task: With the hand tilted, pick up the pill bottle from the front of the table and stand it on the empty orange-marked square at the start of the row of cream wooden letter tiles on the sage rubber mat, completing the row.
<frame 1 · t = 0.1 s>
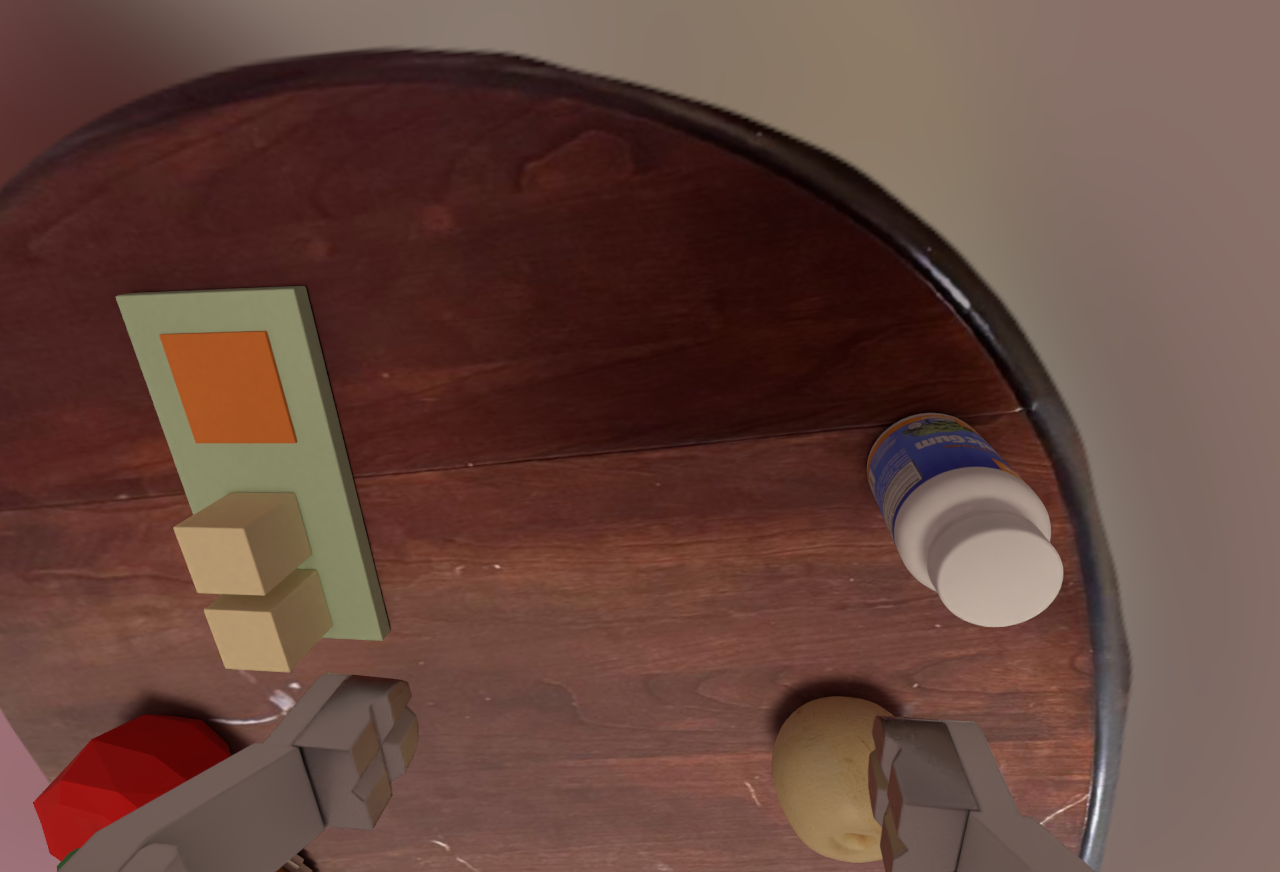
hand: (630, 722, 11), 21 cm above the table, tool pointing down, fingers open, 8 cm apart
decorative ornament: (276, 862, 49), on the table
pill bottle: (921, 461, 30), on the table
apple: (836, 724, 37), on the table
word mat: (272, 476, 36), on the table
apple 2: (195, 746, 46), on the table
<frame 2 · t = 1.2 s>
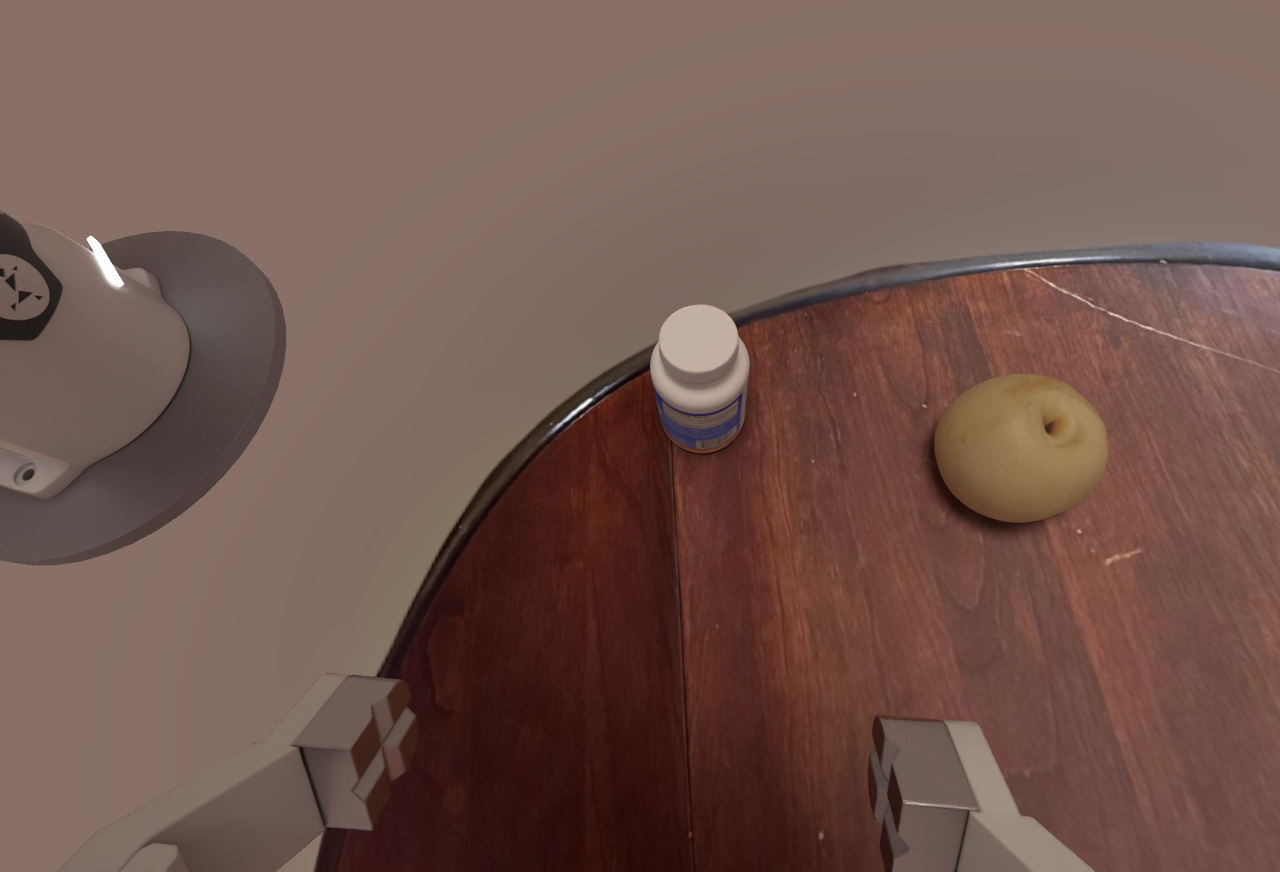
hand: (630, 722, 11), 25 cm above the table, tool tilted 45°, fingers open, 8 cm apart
pill bottle: (702, 417, 40), on the table
apple: (991, 470, 37), on the table
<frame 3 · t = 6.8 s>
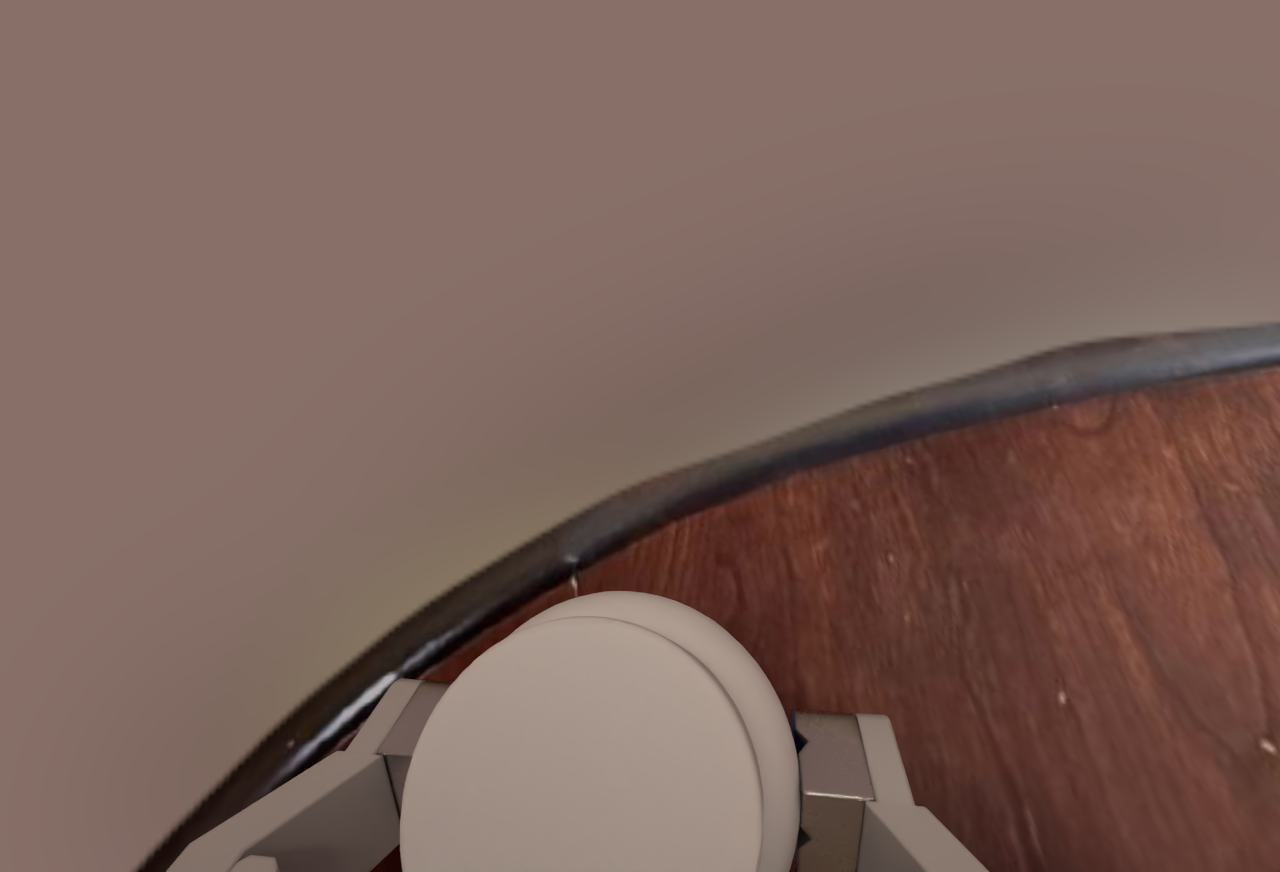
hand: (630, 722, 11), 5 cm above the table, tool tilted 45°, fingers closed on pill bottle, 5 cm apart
pill bottle: (661, 745, 16), on the table, touching gripper
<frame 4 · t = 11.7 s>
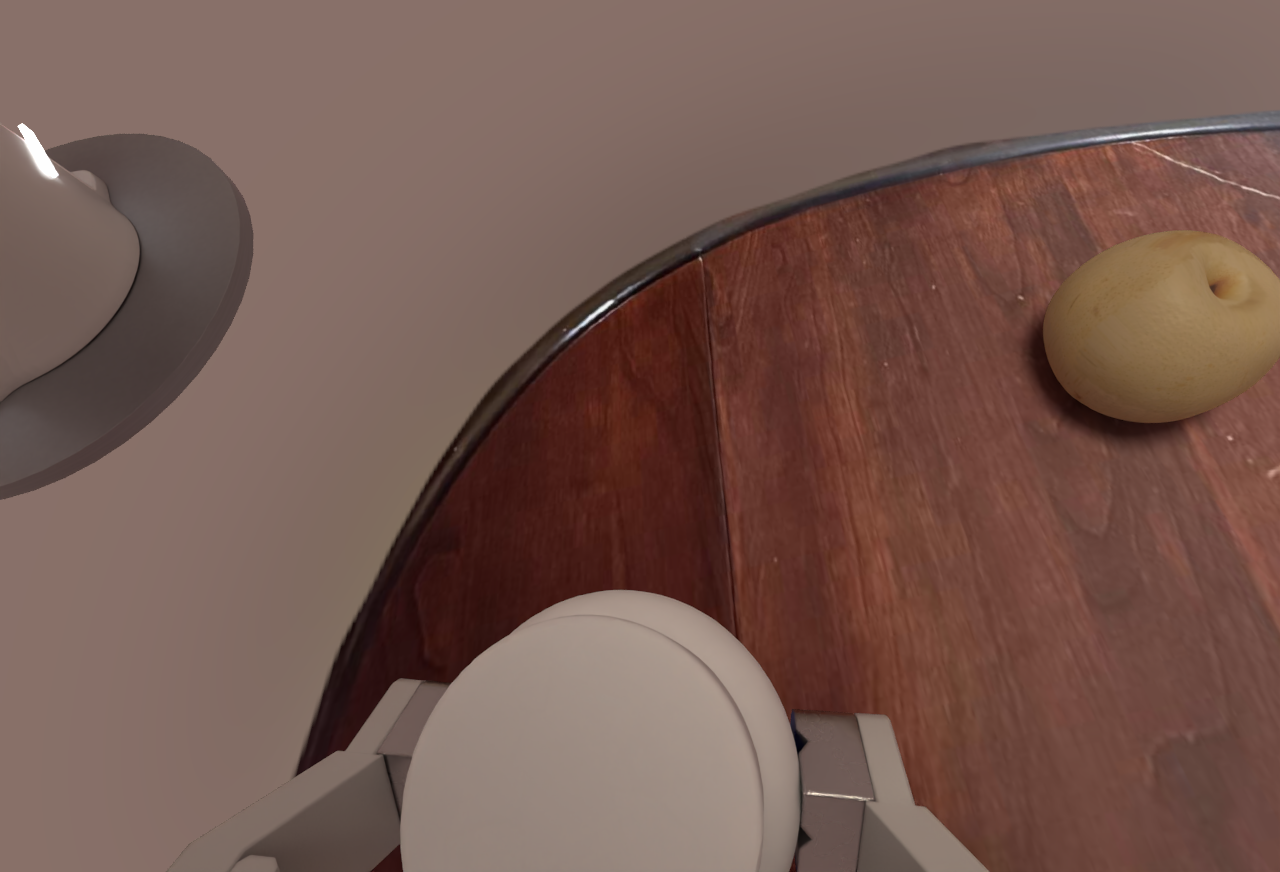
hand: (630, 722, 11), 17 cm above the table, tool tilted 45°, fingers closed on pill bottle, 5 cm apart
pill bottle: (661, 744, 16), point 11 cm above the table, touching gripper
apple: (1110, 369, 30), on the table
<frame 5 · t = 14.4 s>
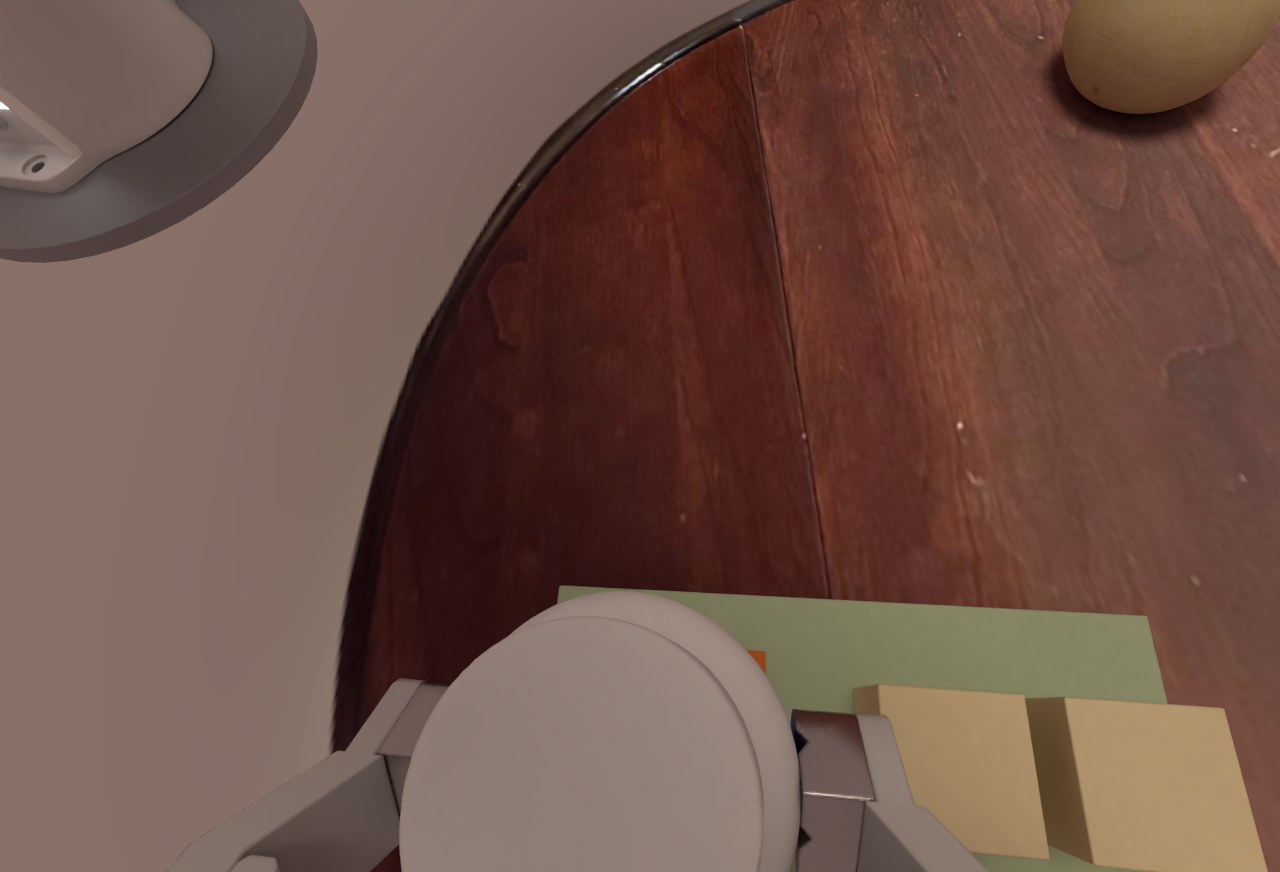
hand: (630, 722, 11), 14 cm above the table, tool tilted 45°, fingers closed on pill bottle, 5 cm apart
pill bottle: (661, 745, 16), point 8 cm above the table, touching gripper
apple: (1124, 87, 32), on the table
word mat: (836, 747, 22), on the table
when the fingers open (7 cm above the table, at t = 16.8 s): pill bottle stays where it is, resting on word mat.
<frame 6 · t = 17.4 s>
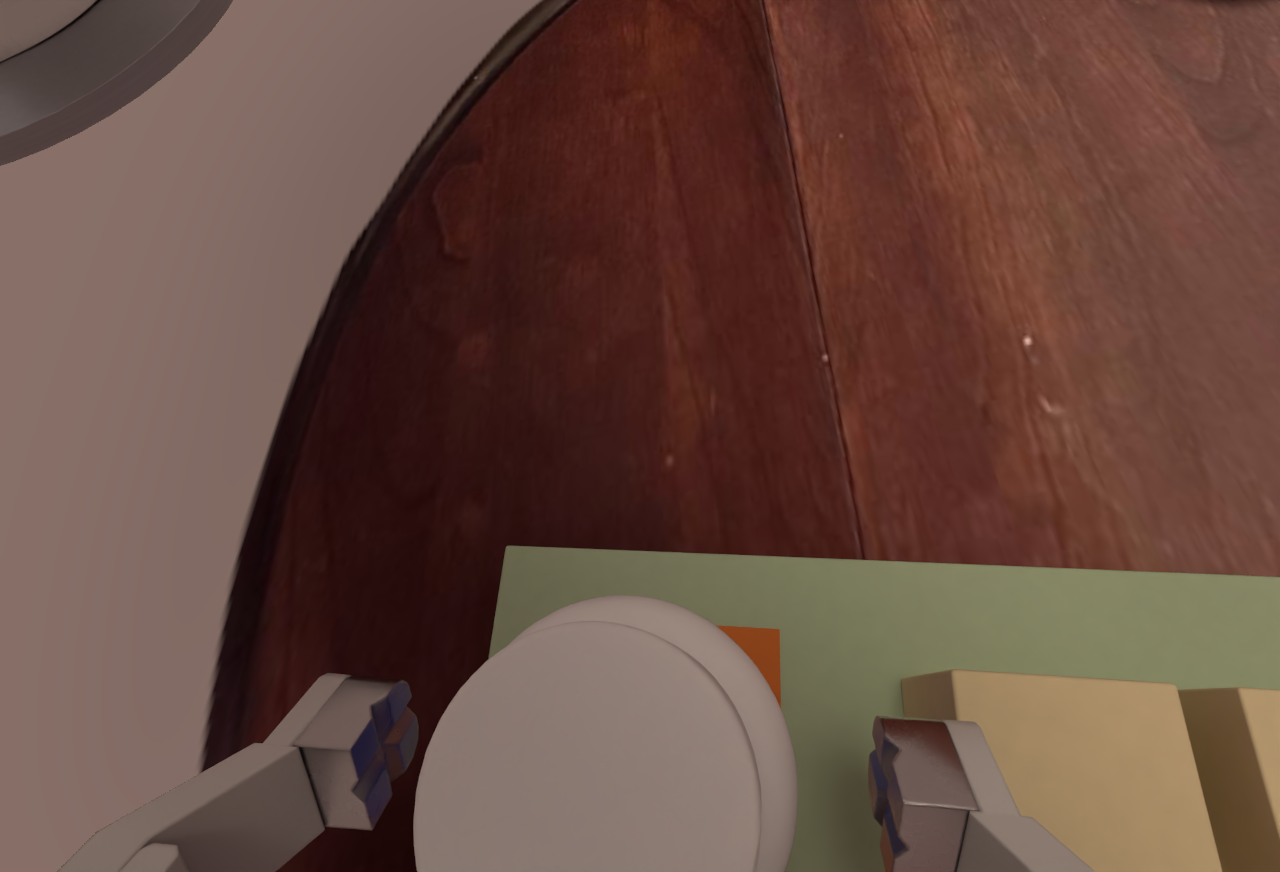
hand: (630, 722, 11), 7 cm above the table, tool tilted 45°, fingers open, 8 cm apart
pill bottle: (661, 745, 16), point 1 cm above the table, touching word mat
word mat: (877, 760, 16), on the table
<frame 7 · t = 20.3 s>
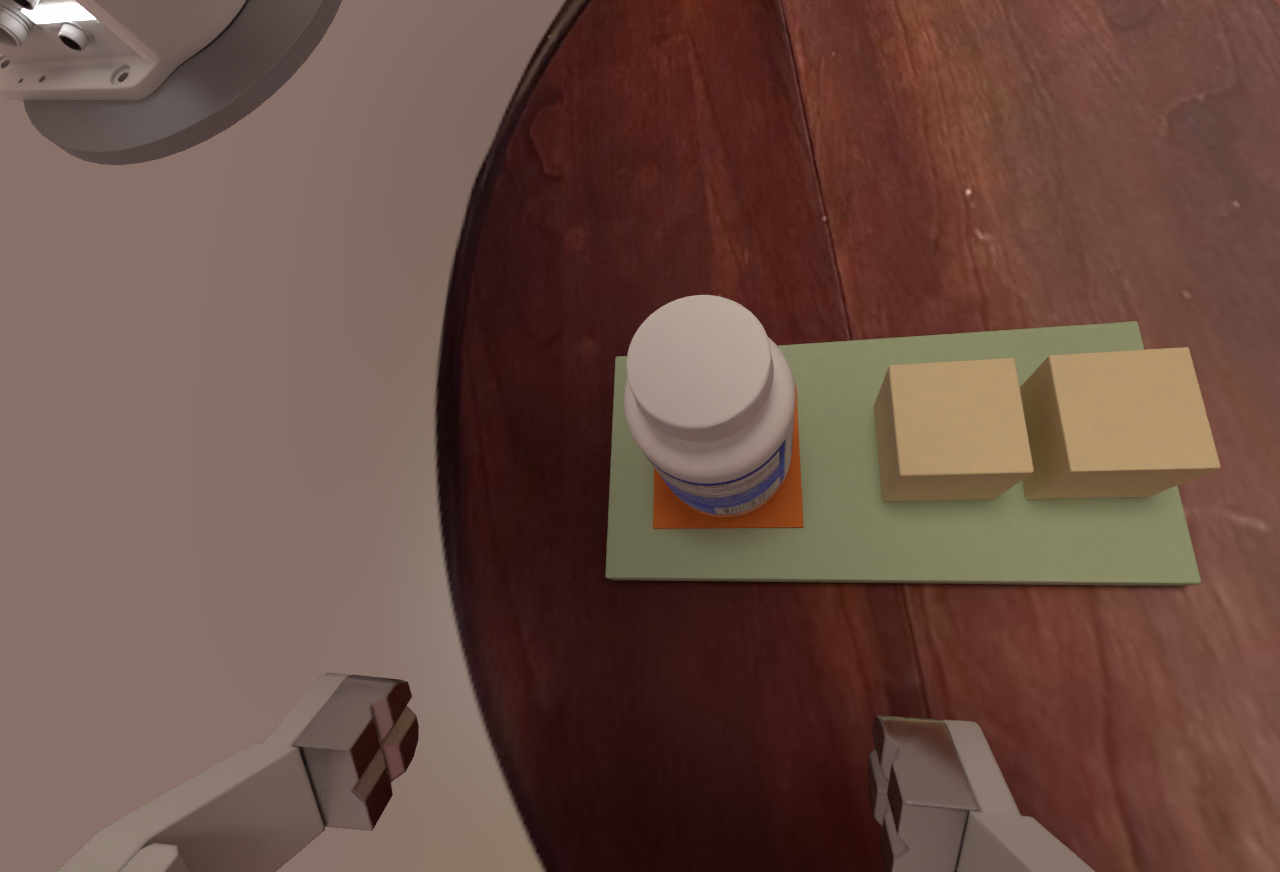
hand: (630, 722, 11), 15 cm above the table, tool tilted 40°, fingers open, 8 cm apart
pill bottle: (725, 457, 26), point 1 cm above the table, touching word mat
word mat: (861, 459, 26), on the table
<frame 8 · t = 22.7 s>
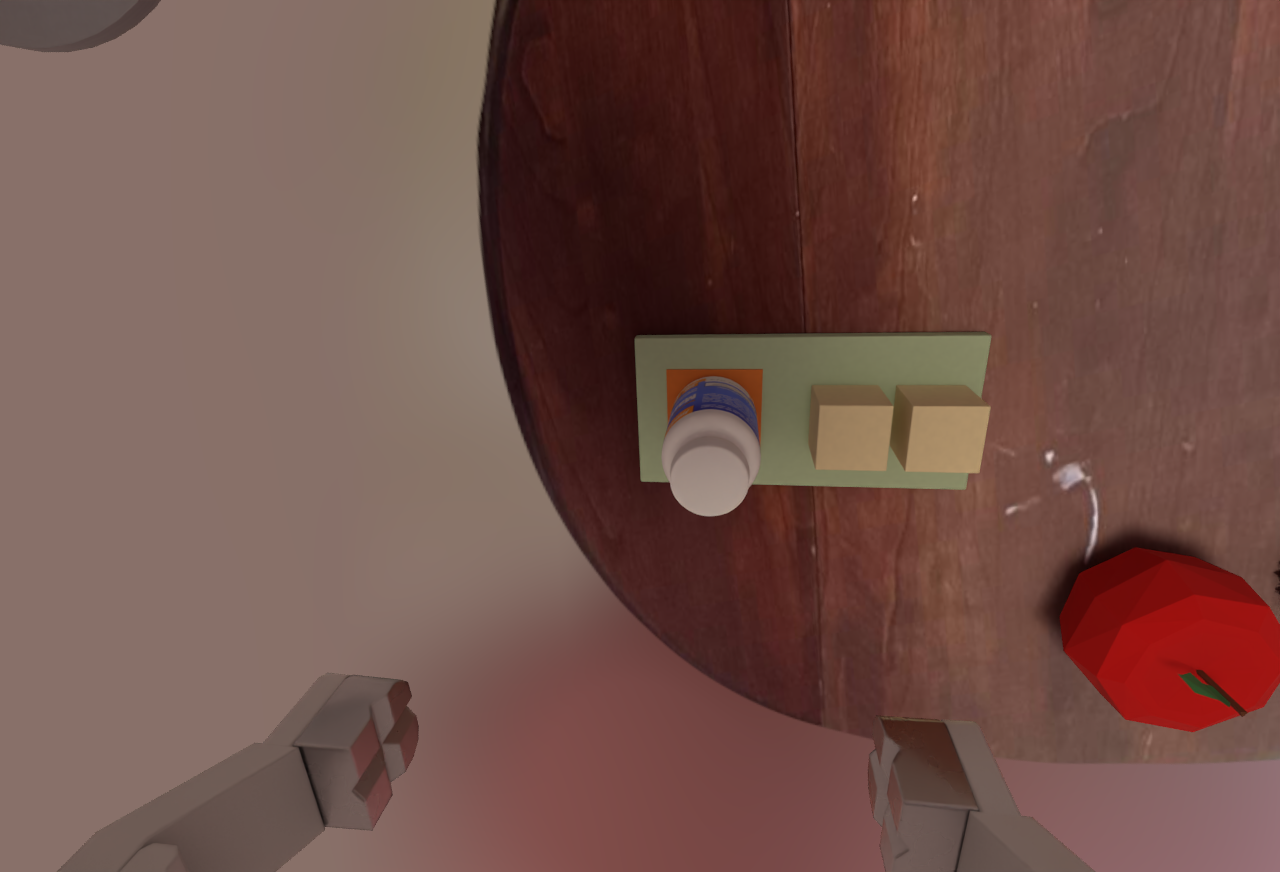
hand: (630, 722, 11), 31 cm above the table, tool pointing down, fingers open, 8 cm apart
pill bottle: (714, 414, 40), point 1 cm above the table, touching word mat
word mat: (799, 409, 40), on the table
apple 2: (1123, 593, 42), on the table
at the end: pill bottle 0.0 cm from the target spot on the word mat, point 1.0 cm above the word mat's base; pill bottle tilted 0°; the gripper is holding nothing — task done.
